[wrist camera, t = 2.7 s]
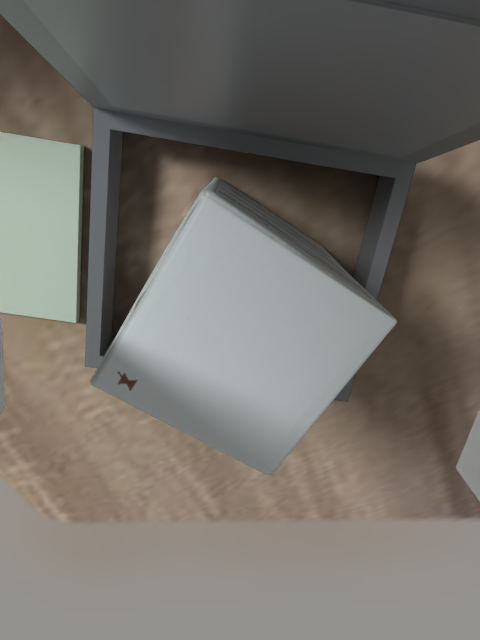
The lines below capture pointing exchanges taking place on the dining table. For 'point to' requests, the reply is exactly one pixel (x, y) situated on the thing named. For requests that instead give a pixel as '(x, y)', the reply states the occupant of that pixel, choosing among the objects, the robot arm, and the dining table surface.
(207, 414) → the supplement box
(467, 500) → the dining table surface
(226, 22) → the lid
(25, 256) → the mat
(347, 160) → the grey square frame
